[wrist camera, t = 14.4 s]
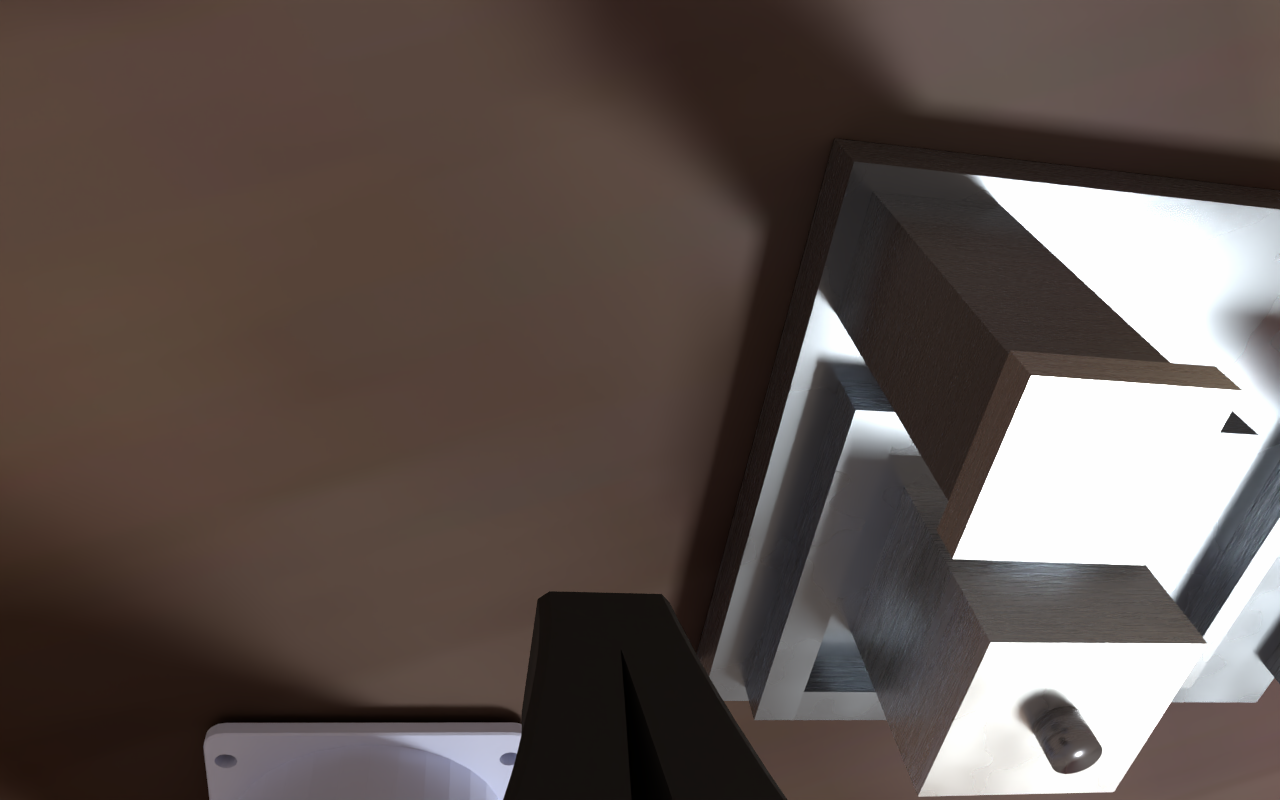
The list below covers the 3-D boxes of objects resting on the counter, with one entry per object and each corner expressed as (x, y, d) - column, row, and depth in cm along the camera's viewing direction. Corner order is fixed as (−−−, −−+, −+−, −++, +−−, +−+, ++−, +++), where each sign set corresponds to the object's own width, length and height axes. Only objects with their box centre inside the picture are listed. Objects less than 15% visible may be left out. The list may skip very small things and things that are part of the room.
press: (1230, 668, 29) (1441, 936, 23) (694, 663, 26) (763, 971, 20) (1535, 220, 22) (1980, 429, 15) (834, 138, 19) (1019, 356, 12)
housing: (1020, 635, 25) (1133, 825, 21) (852, 633, 24) (932, 831, 20) (1090, 494, 23) (1233, 676, 18) (904, 487, 22) (1010, 676, 18)
